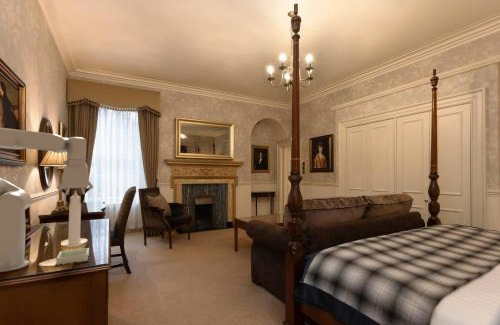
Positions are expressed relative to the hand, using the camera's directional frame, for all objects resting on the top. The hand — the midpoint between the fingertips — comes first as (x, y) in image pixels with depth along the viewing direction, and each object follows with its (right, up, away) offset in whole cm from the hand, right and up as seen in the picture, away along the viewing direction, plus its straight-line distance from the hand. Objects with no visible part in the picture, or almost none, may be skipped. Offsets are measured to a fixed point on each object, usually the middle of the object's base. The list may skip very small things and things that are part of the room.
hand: (75, 202), depth 124 cm
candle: (0, -20, -1) cm, 20 cm away
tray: (0, -26, -1) cm, 26 cm away
